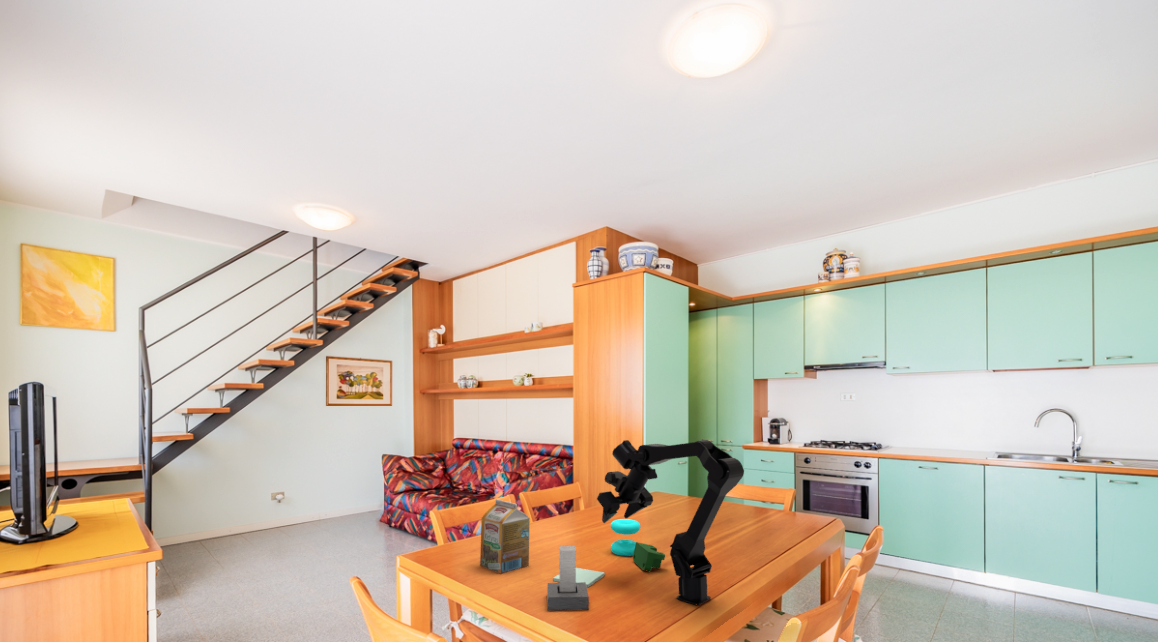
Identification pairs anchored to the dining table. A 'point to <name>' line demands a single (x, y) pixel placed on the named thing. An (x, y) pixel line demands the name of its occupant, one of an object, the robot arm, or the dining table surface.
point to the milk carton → (504, 538)
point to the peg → (567, 569)
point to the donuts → (625, 528)
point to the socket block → (567, 598)
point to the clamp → (647, 556)
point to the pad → (585, 576)
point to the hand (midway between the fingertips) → (614, 519)
